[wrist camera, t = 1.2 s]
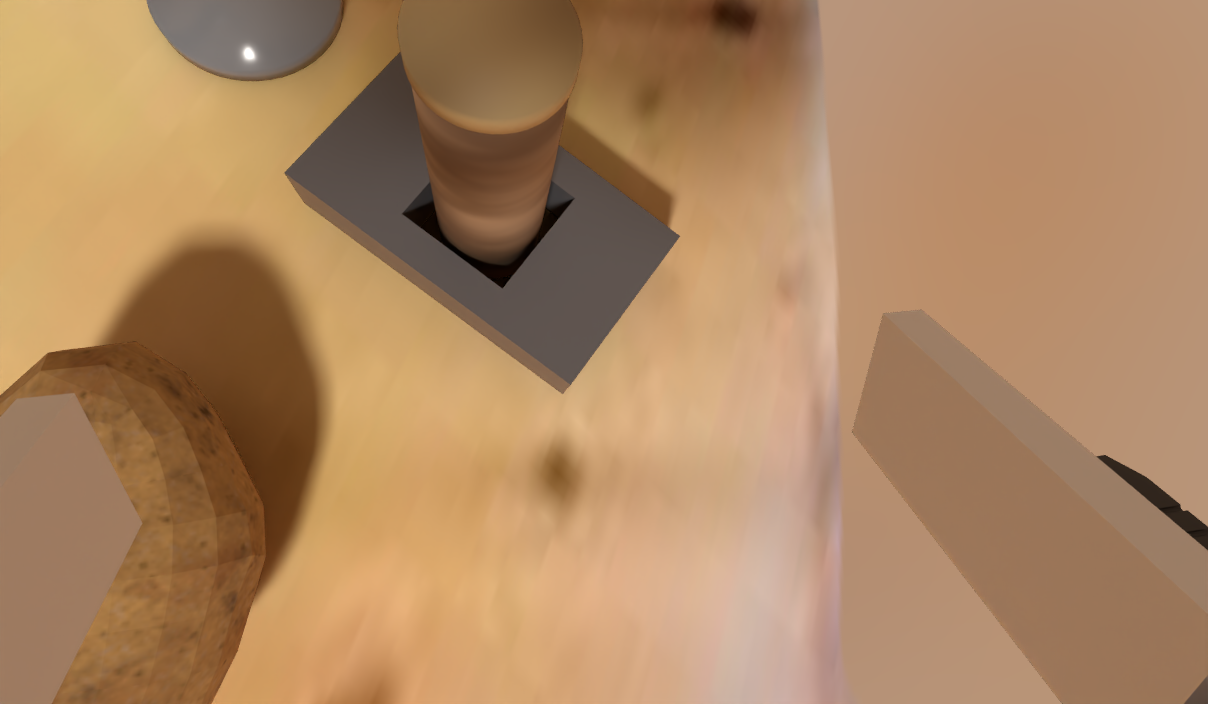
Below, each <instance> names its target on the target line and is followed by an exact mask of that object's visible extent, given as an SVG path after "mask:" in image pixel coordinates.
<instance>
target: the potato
mask: <svg viewBox="0 0 1208 704" xmlns="http://www.w3.org/2000/svg"><path fill="white" fill-rule="evenodd" d="M70 393H75V395H76V397H77V399H78V401H79V403H80V405H81V407H82V409H83V410H84V412H85V414H86V416H87V418H88V420H89V422H90V424H91V426H92V428H93V430H94V431H95V433H96V435H97V437H98V439H99V441H100V443H101V445H102V447H103V449H104V451H105V453H106V454H107V456H108V458H109V460H110V462H111V464H112V466H113V468H114V470H115V472H116V474H117V475H118V477H119V479H120V481H121V483H122V485H123V487H124V489H125V491H126V493H127V495H128V496H129V498H130V500H131V502H132V504H133V506H134V508H135V510H136V512H137V514H138V516H139V517H140V519H141V521H142V525H141V527H140V529H139V531H138V533H137V535H136V537H135V539H134V541H133V543H132V545H131V547H130V549H129V551H128V553H127V555H126V557H125V559H124V561H123V563H122V565H121V567H120V569H119V571H118V573H117V575H116V577H115V579H114V581H113V583H112V585H111V587H110V589H109V591H108V593H107V595H106V597H105V599H104V601H103V603H102V605H101V607H100V609H99V611H98V613H97V615H96V617H95V619H94V621H93V623H92V625H91V627H90V629H89V631H88V633H87V635H86V636H85V638H84V640H83V642H82V644H81V646H80V648H79V650H78V652H77V654H76V656H75V658H74V660H73V662H72V664H71V666H70V668H69V670H68V672H67V674H66V676H65V678H64V680H63V682H62V684H61V686H60V688H59V690H58V692H57V694H56V696H55V698H54V700H53V702H52V704H211V703H212V701H213V699H214V697H215V695H216V693H217V691H218V689H219V687H220V685H221V683H222V681H223V679H224V677H225V675H226V673H227V671H228V669H229V667H230V665H231V663H232V661H233V659H234V657H235V655H236V653H237V651H238V648H239V644H240V641H241V638H242V634H243V631H244V628H245V625H246V621H247V618H248V615H249V612H250V608H251V605H252V602H253V598H254V595H255V592H256V589H257V585H258V582H259V578H260V575H261V571H262V568H263V564H264V561H265V558H266V544H265V524H264V504H263V502H262V500H261V498H260V496H259V494H258V492H257V491H256V489H255V487H254V485H253V483H252V481H251V479H250V477H249V475H248V473H247V471H246V469H245V467H244V465H243V463H242V461H241V459H240V457H239V455H238V453H237V451H236V449H235V447H234V445H233V443H232V441H231V439H230V437H229V435H228V434H227V432H226V430H225V428H224V426H223V424H222V422H221V420H220V418H219V416H218V414H217V413H216V412H215V410H214V409H213V408H212V406H211V405H210V404H209V403H208V401H207V400H206V399H205V397H204V396H203V395H202V393H201V392H200V391H199V390H198V388H197V387H196V386H195V384H194V383H193V382H192V380H191V379H190V378H189V377H188V375H187V374H186V373H185V372H183V371H181V370H180V369H178V368H177V367H175V366H173V365H172V364H170V363H169V362H167V361H166V360H164V359H162V358H161V357H159V356H158V355H156V354H154V353H153V352H151V351H150V350H148V349H147V348H145V347H143V346H142V345H140V344H139V343H137V342H128V343H119V344H111V345H103V346H94V347H86V348H78V349H70V350H62V351H56V352H51V353H47V354H46V355H45V356H44V357H43V358H42V359H41V360H39V361H38V362H37V363H36V364H35V365H34V366H33V367H32V368H31V369H29V370H28V371H27V372H26V373H25V374H24V375H23V376H22V377H21V378H19V379H18V380H17V381H16V382H15V383H14V384H13V385H12V386H10V387H9V388H8V389H7V390H6V391H5V392H4V393H3V394H2V395H0V417H1V416H2V415H3V414H4V412H5V411H6V410H7V409H8V408H9V407H10V406H11V405H12V403H13V402H14V401H15V400H16V399H19V398H29V397H39V396H49V395H59V394H70Z"/></svg>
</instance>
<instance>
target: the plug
mask: <svg viewBox="0 0 1208 704" xmlns="http://www.w3.org/2000/svg"><path fill="white" fill-rule="evenodd" d="M397 30H398V41H399V46H400V51H401V55H402V60H403V65H404V69H405V72H406V75H407V78H408V80H409V82H410V84H411V86H412V91H413V96H414V101H415V107H416V112H417V117H418V122H419V127H420V132H421V137H422V143H423V148H424V153H425V158H426V163H427V168H428V173H429V179H430V184H431V189H432V194H433V199H434V204H435V210H436V215H437V220H438V225H439V230H440V235H441V240H442V244H443V245H444V246H446V247H447V248H448V249H450V250H451V251H452V252H454V253H455V254H456V255H458V256H459V257H460V258H462V259H463V260H465V261H466V262H467V263H469V264H470V265H471V266H473V267H474V268H475V269H477V270H478V271H479V272H481V273H482V274H483V275H485V276H486V277H487V278H490V279H492V278H501V277H505V276H509V275H511V274H513V273H515V272H516V271H517V270H518V269H519V267H520V266H521V265H522V264H523V262H524V261H525V260H526V259H527V257H528V256H529V255H530V254H531V252H532V251H533V250H534V249H535V247H536V246H537V244H538V240H539V235H540V230H541V225H542V221H543V216H544V211H545V207H546V202H547V197H548V193H549V188H550V183H551V178H552V174H553V169H554V164H555V160H556V155H557V150H558V146H559V141H560V136H561V131H562V127H563V122H564V117H565V113H566V108H567V103H568V99H569V96H570V94H571V92H572V90H573V88H574V85H575V82H576V79H577V75H578V70H579V66H580V61H581V56H582V47H583V38H582V30H581V26H580V22H579V18H578V16H577V13H576V11H575V9H574V7H573V5H572V3H571V1H570V0H403V2H402V5H401V8H400V12H399V16H398V25H397Z"/></svg>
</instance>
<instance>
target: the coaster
mask: <svg viewBox="0 0 1208 704" xmlns="http://www.w3.org/2000/svg"><path fill="white" fill-rule="evenodd" d="M147 4H148V7H149V11H150V13H151V15H152V17H153V19H154V21H155V23H156V25H157V26H158V28H159V29H160V31H161V32H162V33H163V35H164V36H165V37H166V39H167V40H168V42H169V43H170V44H171V45H172V46H173V48H174V49H175V50H176V51H177V52H178V53H179V54H180V55H182V56H183V57H184V58H185V59H186V60H188V61H189V62H191V63H192V64H194V65H195V66H197V67H199V68H201V69H203V70H205V71H207V72H209V73H212V74H214V75H217V76H220V77H224V78H229V79H233V80H241V81H263V80H272V79H276V78H280V77H284V76H287V75H290V74H293V73H295V72H297V71H299V70H301V69H303V68H305V67H307V66H308V65H310V64H311V63H313V62H314V61H315V60H316V59H318V58H319V57H320V56H321V55H322V54H323V53H324V52H325V51H326V50H327V48H328V47H329V46H330V45H331V43H332V41H333V40H334V38H335V37H336V34H337V32H338V30H339V28H340V24H341V21H342V16H343V0H147Z"/></svg>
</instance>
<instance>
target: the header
mask: <svg viewBox="0 0 1208 704" xmlns="http://www.w3.org/2000/svg"><path fill="white" fill-rule="evenodd" d="M285 175H286V176H287V178H288V179H289V181H290V182H291V184H292V185H293V187H294V188H295V190H296V191H297V193H298V194H299V196H300V197H301V199H302V200H303V202H304V203H305V204H306V205H308V206H309V207H310V208H312V209H313V210H315V211H316V212H317V213H319V214H320V215H321V216H323V217H324V218H325V219H327V220H328V221H329V222H331V223H332V224H333V225H335V226H336V227H338V228H339V229H340V230H342V231H343V232H344V233H346V234H347V235H348V236H350V237H351V238H352V239H354V240H355V241H356V242H358V243H359V244H361V245H362V246H363V247H365V248H366V249H367V250H369V251H370V252H371V253H373V254H374V255H375V256H377V257H378V258H379V259H381V260H382V261H383V262H385V263H386V264H388V265H389V266H390V267H392V268H393V269H394V270H396V271H397V272H398V273H400V274H401V275H402V276H404V277H405V278H406V279H408V280H409V281H411V282H412V283H413V284H415V285H416V286H417V287H419V288H420V289H421V290H423V291H424V292H425V293H427V294H428V295H429V296H431V297H432V298H434V299H435V300H436V301H438V302H439V303H440V304H442V305H443V306H444V307H446V308H447V309H448V310H450V311H451V312H452V313H454V314H455V315H456V316H458V317H459V318H461V319H462V320H463V321H465V322H466V323H467V324H469V325H470V326H471V327H473V328H474V329H475V330H477V331H478V332H479V333H481V334H482V335H484V336H485V337H486V338H488V339H489V340H490V341H492V342H493V343H494V344H496V345H497V346H498V347H500V348H501V349H502V350H504V351H505V352H506V353H508V354H509V355H511V356H512V357H513V358H515V359H516V360H517V361H519V362H520V363H521V364H523V365H524V366H525V367H527V368H528V369H529V370H531V371H532V372H534V373H535V374H536V375H538V376H539V377H540V378H542V379H543V380H544V381H546V382H547V383H548V384H550V385H551V386H552V387H554V388H555V389H557V390H558V391H559V392H561V393H562V394H563V393H564V392H565V390H566V389H567V388H568V387H569V386H570V385H571V384H572V382H573V381H574V379H575V378H576V377H577V375H578V374H579V373H580V371H581V370H582V369H583V367H584V366H585V365H586V363H587V362H588V360H589V359H590V358H591V356H592V355H593V354H594V352H595V351H596V350H597V348H598V347H599V346H600V344H601V343H602V341H603V340H604V339H605V337H606V336H607V335H608V333H609V332H610V331H611V329H612V328H613V327H614V325H615V324H616V322H617V321H618V320H619V318H620V317H621V316H622V314H623V313H624V312H625V310H626V309H627V308H628V306H629V305H630V303H631V302H632V301H633V299H634V298H635V297H636V295H637V294H638V293H639V291H640V290H641V289H642V287H643V286H644V284H645V283H646V282H647V280H648V279H649V278H650V276H651V275H652V274H653V272H654V271H655V270H656V268H657V267H658V265H659V264H660V263H661V261H662V260H663V259H664V257H665V256H666V255H667V253H668V252H669V251H670V249H671V248H672V247H673V245H674V244H675V242H676V241H677V240H678V238H679V237H680V236H679V235H678V234H676V233H675V232H674V231H672V230H671V229H670V228H668V227H667V226H666V225H664V224H663V223H662V222H660V221H659V220H658V219H657V218H655V217H654V216H653V215H651V214H650V213H649V212H647V211H646V210H645V209H643V208H642V207H641V206H639V205H638V204H637V203H635V202H634V201H633V200H631V199H630V198H629V197H627V196H626V195H625V194H623V193H622V192H621V191H619V190H618V189H617V188H615V187H614V186H613V185H611V184H610V183H609V182H607V181H606V180H605V179H603V178H602V177H601V176H599V175H598V174H597V173H595V172H594V171H593V170H591V169H590V168H589V167H587V166H586V165H585V164H583V163H582V162H581V161H579V160H578V159H577V158H575V157H574V156H573V155H571V154H570V153H569V152H567V151H566V150H565V149H563V148H562V147H561V146H558V150H557V155H556V160H555V164H554V169H553V174H552V178H551V183H550V188H549V193H548V197H547V202H546V207H545V208H546V209H547V210H549V211H550V212H551V213H553V214H554V215H555V216H557V217H558V218H559V219H558V220H557V221H556V223H555V224H554V225H553V226H552V228H551V229H550V230H549V231H548V233H547V234H546V235H545V236H544V238H543V239H542V240H541V241H540V243H539V244H538V245H537V246H536V247H535V249H534V250H533V251H532V252H531V254H530V255H529V256H528V257H527V259H526V260H525V261H524V262H523V264H522V265H521V266H520V267H519V269H518V270H517V271H516V272H515V274H514V275H513V276H512V277H511V279H510V280H509V281H508V282H507V284H506V285H505V286H504V287H503V289H502V288H501V287H500V286H498V285H497V284H495V283H494V282H493V281H491V280H490V279H489V278H487V277H486V276H485V275H483V274H482V273H481V272H479V271H478V270H477V269H475V268H474V267H473V266H471V265H470V264H469V263H467V262H466V261H465V260H463V259H462V258H460V257H459V256H458V255H456V254H455V253H454V252H452V251H451V250H450V249H448V248H447V247H446V246H444V245H443V244H442V243H440V242H439V241H438V240H436V239H435V238H434V237H432V236H431V235H430V234H428V233H427V232H425V231H424V230H423V229H421V228H420V227H421V226H422V225H423V224H424V223H425V222H426V220H427V219H428V218H429V217H430V216H431V215H432V213H433V212H434V211H435V204H434V199H433V194H432V189H431V184H430V179H429V173H428V168H427V163H426V158H425V153H424V148H423V143H422V137H421V132H420V127H419V122H418V117H417V112H416V107H415V101H414V96H413V91H412V86H411V84H410V82H409V80H408V78H407V75H406V72H405V69H404V65H403V60H402V55H401V52H400V53H399V54H398V55H397V56H396V57H395V58H394V59H393V60H392V61H391V62H390V63H389V64H388V65H387V66H386V67H385V68H384V69H383V70H382V71H381V73H380V74H379V75H378V76H377V77H376V78H375V79H374V80H373V81H372V82H371V83H370V84H369V85H368V86H367V87H366V88H365V89H364V90H363V91H362V92H361V93H360V94H359V95H358V97H357V98H356V99H355V100H354V101H353V102H352V103H351V104H350V105H349V106H348V107H347V108H346V109H345V110H344V111H343V112H342V113H341V114H340V115H339V116H338V117H337V118H336V119H335V120H334V122H333V123H332V124H331V125H330V126H329V127H328V128H327V129H326V130H325V131H324V132H323V133H322V134H321V135H320V136H319V137H318V138H317V139H316V140H315V141H314V142H313V143H312V144H311V146H310V147H309V148H308V149H307V150H306V151H305V152H304V153H303V154H302V155H301V156H300V157H299V158H298V159H297V160H296V161H295V162H294V163H293V164H292V165H291V166H290V167H289V168H288V169H287V171H286V172H285Z"/></svg>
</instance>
